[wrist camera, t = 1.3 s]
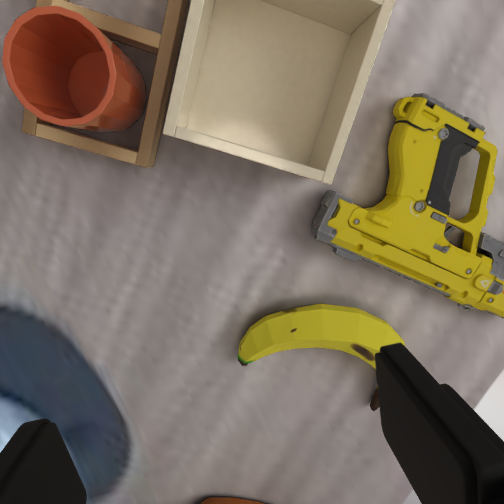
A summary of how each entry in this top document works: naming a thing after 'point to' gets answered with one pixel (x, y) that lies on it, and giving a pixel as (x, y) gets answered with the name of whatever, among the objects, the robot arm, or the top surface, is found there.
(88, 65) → the cup
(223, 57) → the open wooden box
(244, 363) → the banana
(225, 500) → the bread
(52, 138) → the rack
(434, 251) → the toy gun
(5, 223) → the top surface
